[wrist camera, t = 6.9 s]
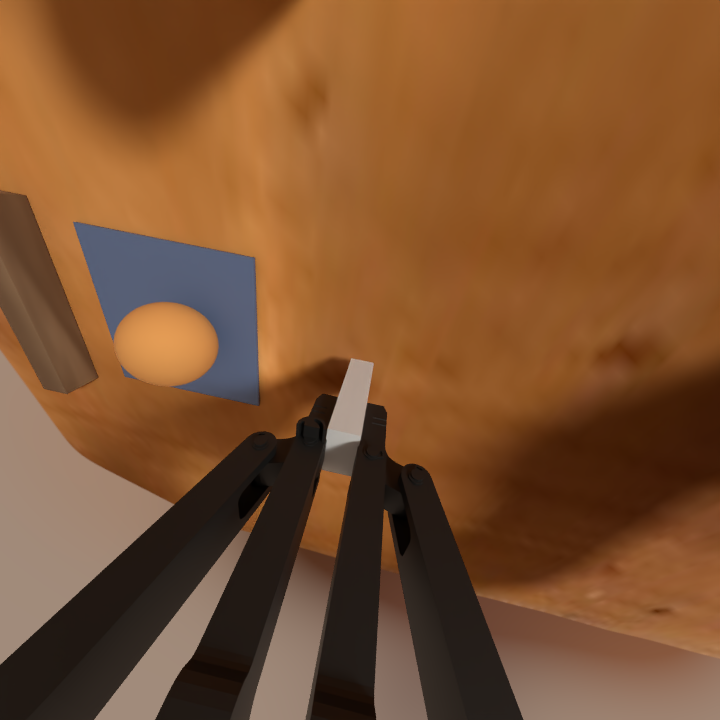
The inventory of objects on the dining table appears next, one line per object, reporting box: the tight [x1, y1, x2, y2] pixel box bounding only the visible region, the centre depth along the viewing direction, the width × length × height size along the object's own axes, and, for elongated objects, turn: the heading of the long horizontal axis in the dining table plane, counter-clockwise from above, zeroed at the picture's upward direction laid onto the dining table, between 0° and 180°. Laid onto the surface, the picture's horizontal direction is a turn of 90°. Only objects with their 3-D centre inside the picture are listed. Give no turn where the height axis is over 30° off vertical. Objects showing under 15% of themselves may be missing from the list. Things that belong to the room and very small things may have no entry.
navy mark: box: [73, 222, 260, 406], centre depth 19 cm, size 12×12×1 cm
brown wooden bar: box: [0, 190, 98, 394], centre depth 19 cm, size 2×14×2 cm, turn 170°
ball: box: [114, 302, 219, 386], centre depth 17 cm, size 6×6×6 cm
